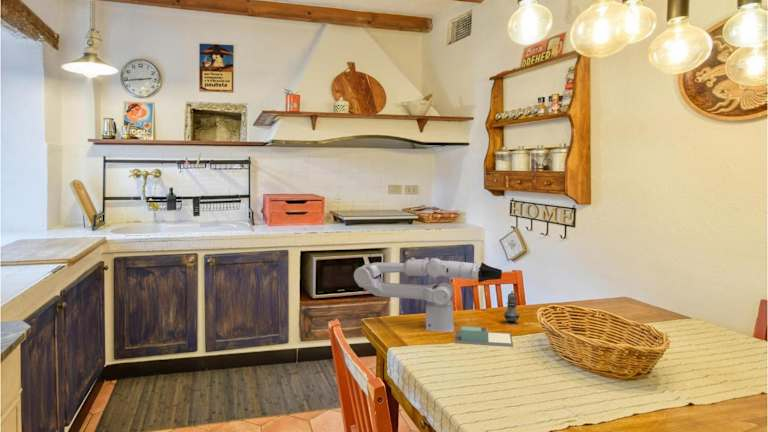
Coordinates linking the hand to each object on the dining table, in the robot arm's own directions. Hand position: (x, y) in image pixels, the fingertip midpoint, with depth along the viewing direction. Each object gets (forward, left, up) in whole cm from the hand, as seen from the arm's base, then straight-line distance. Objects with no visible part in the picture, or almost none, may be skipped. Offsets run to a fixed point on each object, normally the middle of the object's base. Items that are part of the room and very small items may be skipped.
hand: (501, 274), depth 166 cm
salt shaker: (+4, +13, -21) cm, 25 cm away
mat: (-6, -8, -20) cm, 22 cm away
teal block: (-9, -10, -20) cm, 24 cm away
